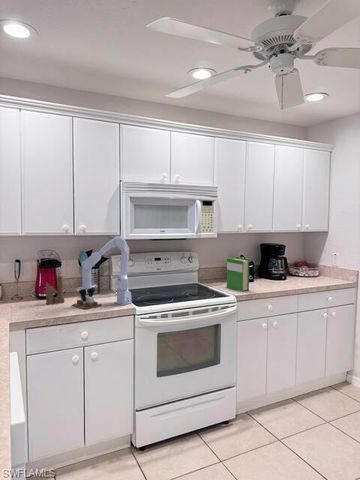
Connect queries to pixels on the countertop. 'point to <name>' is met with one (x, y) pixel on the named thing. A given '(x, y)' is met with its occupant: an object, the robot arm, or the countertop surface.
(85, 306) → the rack
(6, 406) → the countertop surface
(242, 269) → the hardback book
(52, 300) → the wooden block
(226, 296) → the countertop surface
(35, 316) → the countertop surface
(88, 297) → the light gray block
